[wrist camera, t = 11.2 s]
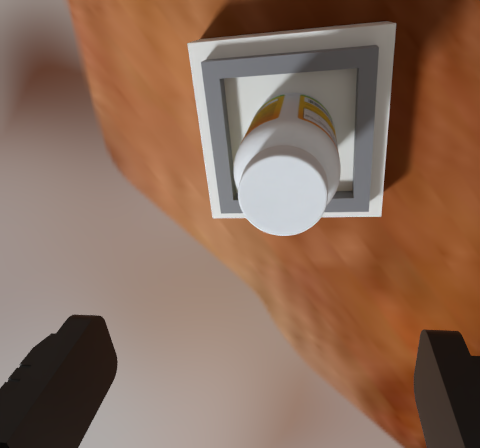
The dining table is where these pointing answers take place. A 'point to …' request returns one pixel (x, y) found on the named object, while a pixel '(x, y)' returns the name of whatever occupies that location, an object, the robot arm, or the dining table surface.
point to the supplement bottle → (287, 165)
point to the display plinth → (306, 82)
